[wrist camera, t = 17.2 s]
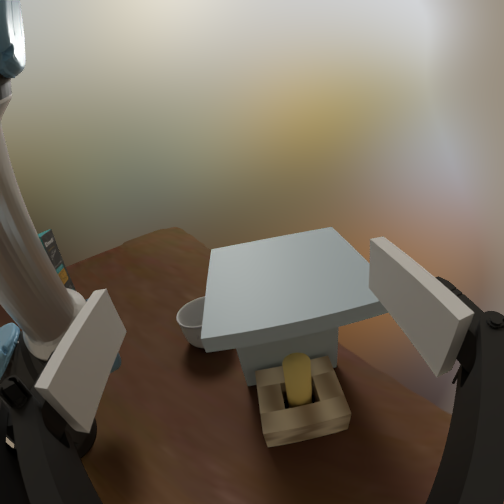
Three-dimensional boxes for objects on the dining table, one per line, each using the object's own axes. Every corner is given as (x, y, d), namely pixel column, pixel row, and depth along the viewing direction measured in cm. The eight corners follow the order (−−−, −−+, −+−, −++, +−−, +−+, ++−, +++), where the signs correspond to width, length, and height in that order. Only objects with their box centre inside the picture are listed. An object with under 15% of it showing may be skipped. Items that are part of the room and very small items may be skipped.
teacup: (205, 363, 50) (193, 333, 47) (178, 340, 58) (166, 312, 55) (255, 327, 58) (248, 297, 55) (224, 310, 66) (217, 283, 63)
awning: (255, 460, 30) (200, 338, 19) (246, 377, 45) (211, 249, 35) (364, 434, 30) (399, 295, 19) (333, 359, 45) (331, 226, 35)
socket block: (267, 447, 32) (263, 434, 30) (259, 388, 43) (254, 370, 41) (347, 428, 32) (351, 413, 30) (327, 373, 43) (327, 355, 41)
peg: (291, 420, 35) (284, 375, 31) (287, 403, 39) (280, 355, 34) (314, 415, 35) (313, 369, 31) (309, 398, 39) (306, 349, 34)
